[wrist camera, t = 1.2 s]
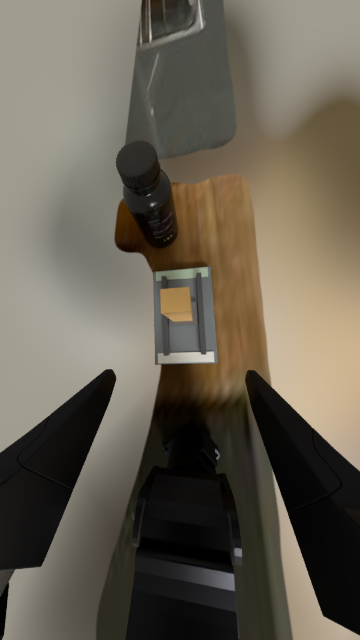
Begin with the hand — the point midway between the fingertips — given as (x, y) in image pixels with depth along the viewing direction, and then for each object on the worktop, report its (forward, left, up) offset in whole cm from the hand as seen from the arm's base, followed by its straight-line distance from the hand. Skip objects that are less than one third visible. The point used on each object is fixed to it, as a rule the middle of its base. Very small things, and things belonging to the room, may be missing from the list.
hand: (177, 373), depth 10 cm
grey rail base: (+4, +5, -15) cm, 16 cm away
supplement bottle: (+12, +20, -15) cm, 28 cm away
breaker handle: (+4, +5, -14) cm, 15 cm away
